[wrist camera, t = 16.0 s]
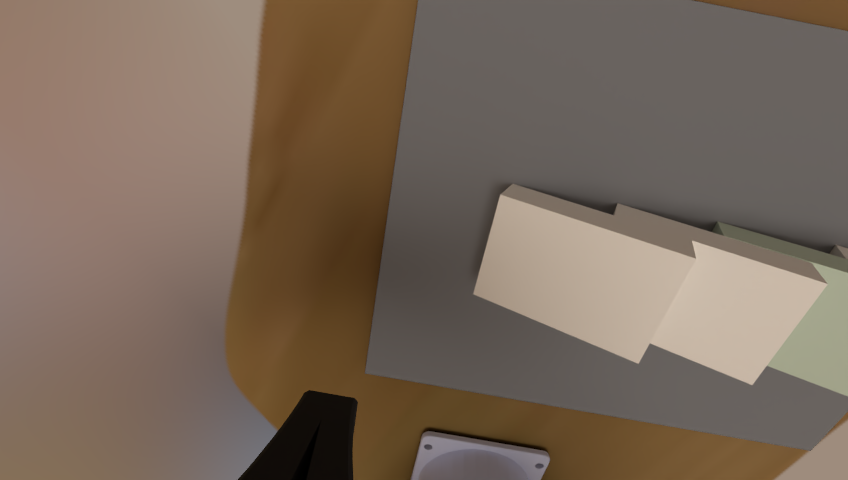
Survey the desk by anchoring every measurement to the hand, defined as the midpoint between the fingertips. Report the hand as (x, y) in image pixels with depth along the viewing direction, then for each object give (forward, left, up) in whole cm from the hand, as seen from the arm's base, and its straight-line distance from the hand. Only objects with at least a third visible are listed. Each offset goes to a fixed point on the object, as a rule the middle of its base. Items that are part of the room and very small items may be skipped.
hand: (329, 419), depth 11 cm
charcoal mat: (+2, -13, -10) cm, 16 cm away
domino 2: (+2, -9, -9) cm, 13 cm away
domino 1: (+2, -5, -9) cm, 10 cm away
